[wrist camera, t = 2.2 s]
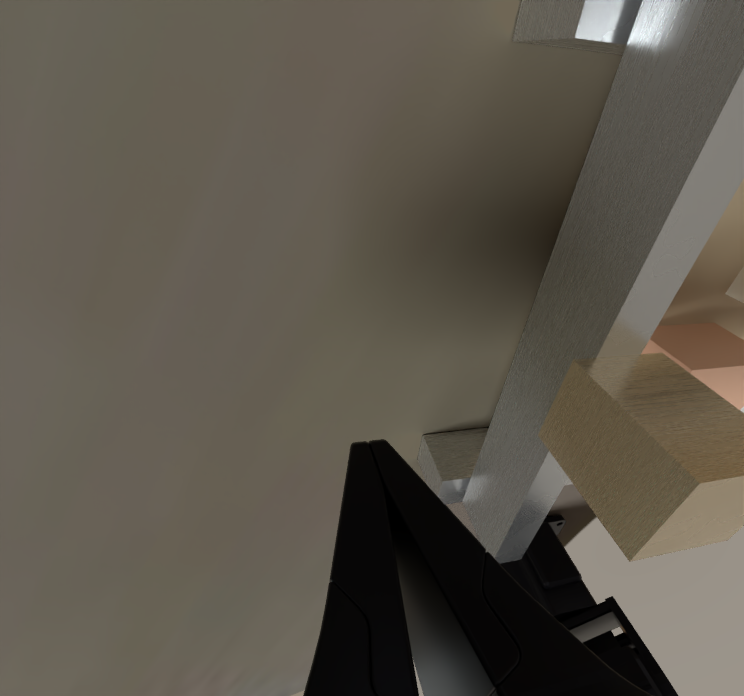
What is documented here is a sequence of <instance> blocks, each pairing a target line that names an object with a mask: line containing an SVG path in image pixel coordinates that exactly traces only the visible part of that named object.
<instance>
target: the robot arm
mask: <svg viewBox="0 0 744 696" xmlns="http://www.w3.org/2000/svg"><path fill="white" fill-rule="evenodd" d="M565 523H566V521H565V519H564V518H563V516H561V515H559V516H554V517H548V518H545V519H544V521H543V523H542V524H541V526H540V528H539V529H538V531H537V533H536V535H535V536H534V538H533V540H532V541H531V543H530V545H529V547H528V548H527V550H526V552H525V553H524V555H523V557H522V559H520V560H515V561H510V562H506V563H501V564H499V563H498V562H497V560H496V559H495V558H494V557H493V556H492V555H491V554H490V553H489V552H486V549H485V547H484V546H483V545H482V544H481V543H480V542H479V541H478V540H477V539H476V538H475V537H474V535H473V534H472V533H471V532H470V531H469V530H468V529H467V528H466V527H465V526H464V525H463V524H462V522H461V521H460V520H459V519H458V518H457V517H456V516H455V515H454V514H453V513H452V512H451V510H450V509H449V508H448V507H447V506H446V505H445V504H444V503H443V502H442V501H441V500H440V498H439V497H438V496H437V495H436V494H435V493H434V492H433V491H432V490H431V489H430V488H429V486H428V485H427V484H426V483H425V482H424V481H423V480H422V479H421V478H420V477H419V476H418V474H417V473H416V472H415V471H414V470H413V469H412V468H411V467H410V466H409V465H408V464H407V463H406V461H405V460H404V459H403V458H402V457H401V456H400V455H399V454H398V453H397V452H396V451H395V449H394V448H393V447H392V446H391V445H390V444H389V443H388V442H387V441H386V440H384V439H381V440H372V441H369V443H368V442H366V441H364V442H355V443H352V444H351V447H350V454H349V460H348V466H347V473H346V479H345V486H344V492H343V498H342V505H341V511H340V517H339V524H338V530H337V536H336V543H335V549H334V556H333V562H332V568H331V575H330V583H329V586H328V592H327V599H326V605H325V610H324V615H323V621H322V626H321V631H320V635H319V639H318V643H317V647H316V651H315V655H314V659H313V663H312V666H311V670H310V674H309V677H308V681H307V684H306V688H305V691H304V695H303V696H419V694H418V688H417V682H416V676H415V670H414V664H413V660H414V663H415V667H416V670H417V674H418V677H419V680H420V684H421V687H422V691H423V694H424V696H678V694H677V693H676V691H675V690H674V688H673V686H672V685H671V683H670V682H669V680H668V679H667V677H666V676H665V674H664V673H663V671H662V670H661V668H660V666H659V665H658V664H657V662H656V661H655V659H654V658H653V656H652V654H651V653H650V652H649V650H648V648H647V647H646V646H645V644H644V642H643V641H642V640H641V638H640V637H639V635H638V634H637V632H636V631H635V629H634V628H633V626H632V625H631V623H630V622H629V620H628V619H627V617H626V616H625V614H624V613H623V611H622V610H621V608H620V607H619V605H618V604H617V602H616V601H615V599H614V598H613V596H612V597H609V598H607V599H605V600H606V601H605V602H602V603H600V604H598V605H597V604H596V602H595V600H594V599H593V597H592V595H591V594H590V592H589V591H588V589H587V587H586V586H585V584H584V582H583V581H582V579H581V578H582V577H581V574H580V573H579V571H578V570H577V568H576V566H575V565H574V563H573V561H572V560H571V558H570V556H569V555H568V554H567V552H566V550H565V548H564V547H563V545H562V543H561V542H560V540H559V539H558V537H557V535H558V534H559V532H560V531H561V529H562V528H563V526H564V524H565ZM618 627H620V628H621V629H622V631H623V632H624V633H621V634H619V635H617V636H614V635H613V633H612V632H611V630H613V629H615V628H618ZM412 657H413V658H412Z"/></svg>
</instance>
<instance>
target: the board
mask: <svg viewBox="0 0 744 696" xmlns="http://www.w3.org/2000/svg"><path fill="white" fill-rule="evenodd" d="M743 266H744V179H743V180H742V182H741V184H740V186H739V187H738V189H737V191H736V192H735V194H734V196H733V198H732V199H731V201H730V203H729V204H728V206H727V208H726V210H725V211H724V213H723V215H722V216H721V218H720V220H719V222H718V223H717V225H716V227H715V228H714V230H713V232H712V234H711V235H710V237H709V239H708V240H707V242H706V244H705V245H704V247H703V249H702V251H701V252H700V254H699V256H698V257H697V259H696V261H695V263H694V264H693V266H692V268H691V269H690V271H689V273H688V275H687V276H686V278H685V280H684V281H683V283H682V285H681V287H680V288H679V290H678V292H677V293H676V295H675V297H674V299H673V300H672V302H671V304H670V305H669V307H668V309H667V310H666V312H665V314H664V316H663V317H662V319H661V321H660V322H659V324H658V326H665V325H682V324H699V323H716V324H717V325H719V326H721V327H723V328H724V329H726V330H728V331H729V332H731V333H733V334H734V335H736V336H738V337H739V338H741V339H743V340H744V303H742V302H740V301H738V300H736V299H734V298H732V297H730V296H728V295H726V294H725V293H726V292H727V290H728V289H729V287H730V286H731V284H732V283H733V281H734V280H735V278H736V277H737V275H738V274H739V272H740V271H741V269H742V268H743Z"/></svg>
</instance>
